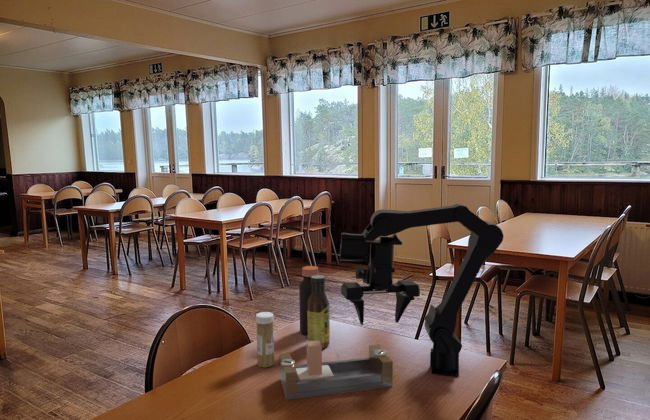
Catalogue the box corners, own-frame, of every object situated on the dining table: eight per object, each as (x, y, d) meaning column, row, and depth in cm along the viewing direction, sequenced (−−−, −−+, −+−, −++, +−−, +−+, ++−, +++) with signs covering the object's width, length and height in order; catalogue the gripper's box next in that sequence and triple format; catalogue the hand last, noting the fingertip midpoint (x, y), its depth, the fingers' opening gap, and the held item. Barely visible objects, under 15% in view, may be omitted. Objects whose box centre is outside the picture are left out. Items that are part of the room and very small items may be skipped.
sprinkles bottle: (274, 367, 123) (273, 316, 121) (256, 368, 122) (255, 317, 120) (274, 359, 127) (273, 310, 125) (256, 360, 126) (255, 311, 125)
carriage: (328, 372, 116) (327, 337, 115) (333, 382, 111) (333, 346, 110) (295, 375, 115) (295, 340, 114) (299, 386, 109) (299, 349, 108)
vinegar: (295, 331, 147) (294, 267, 144) (313, 326, 151) (312, 264, 148) (308, 338, 141) (307, 271, 139) (326, 332, 146) (326, 268, 143)
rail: (379, 367, 122) (379, 342, 121) (393, 386, 112) (394, 359, 111) (278, 379, 116) (278, 352, 115) (284, 400, 107) (284, 371, 106)
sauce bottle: (329, 350, 133) (329, 280, 130) (307, 350, 133) (306, 280, 131) (329, 340, 139) (329, 273, 137) (308, 340, 140) (307, 273, 137)
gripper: (404, 253, 127) (402, 310, 129) (336, 255, 123) (334, 314, 125) (422, 263, 117) (419, 325, 118) (348, 266, 112) (346, 330, 114)
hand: (379, 323), depth 119 cm, fingers open, 9 cm apart
